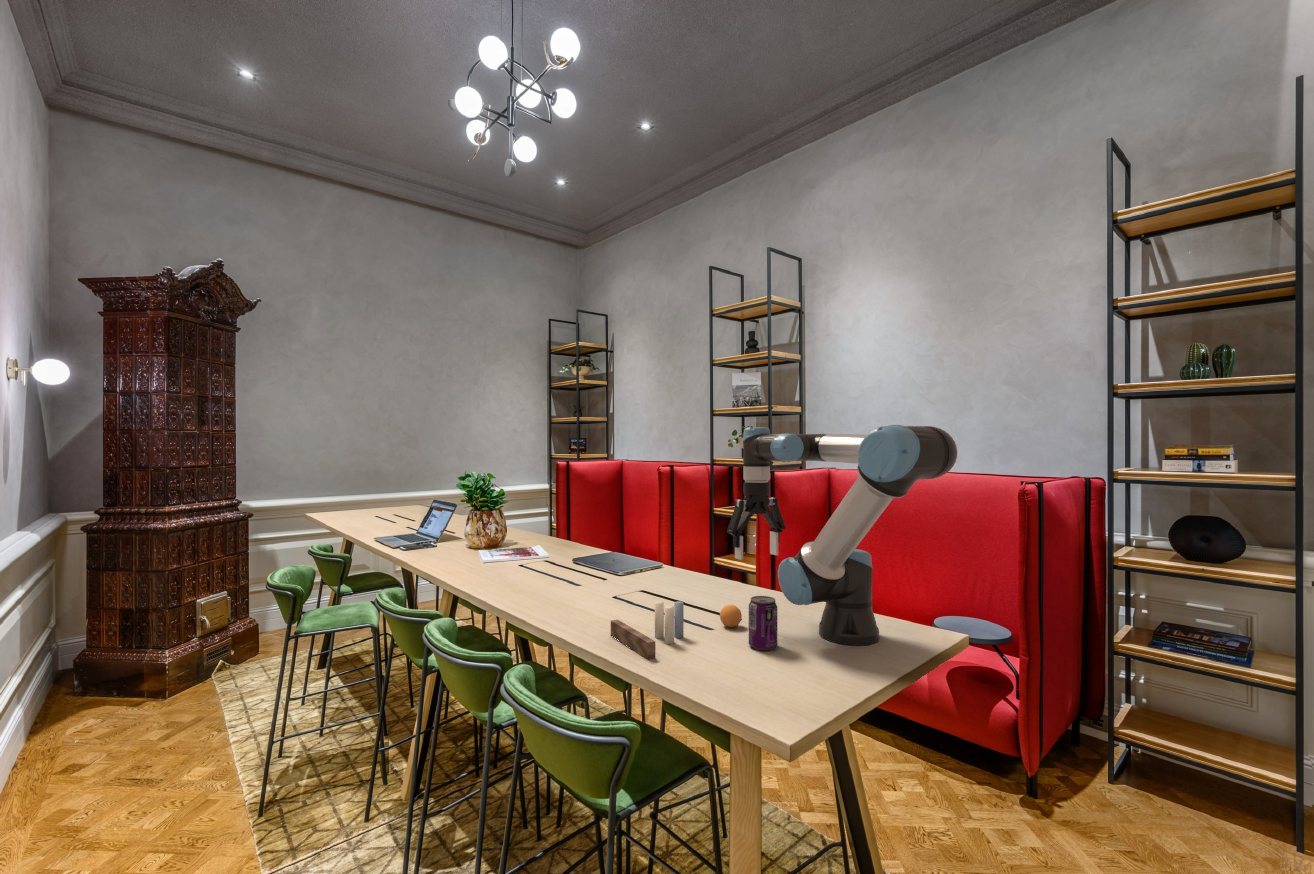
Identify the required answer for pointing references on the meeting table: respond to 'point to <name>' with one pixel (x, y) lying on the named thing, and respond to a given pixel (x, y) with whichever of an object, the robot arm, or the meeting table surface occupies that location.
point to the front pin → (678, 619)
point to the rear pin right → (659, 620)
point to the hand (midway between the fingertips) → (756, 556)
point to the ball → (730, 615)
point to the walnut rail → (633, 639)
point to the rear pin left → (669, 625)
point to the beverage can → (763, 623)
